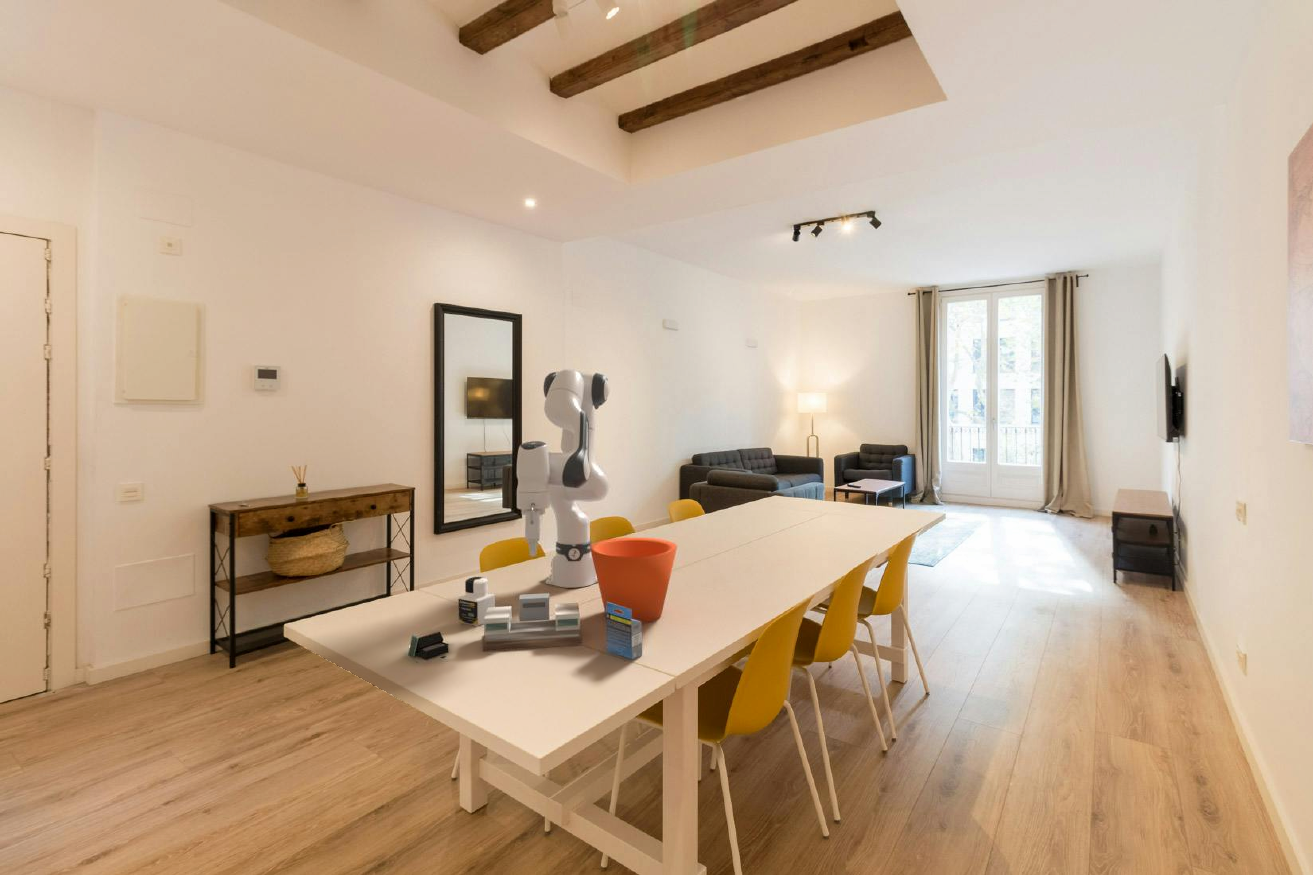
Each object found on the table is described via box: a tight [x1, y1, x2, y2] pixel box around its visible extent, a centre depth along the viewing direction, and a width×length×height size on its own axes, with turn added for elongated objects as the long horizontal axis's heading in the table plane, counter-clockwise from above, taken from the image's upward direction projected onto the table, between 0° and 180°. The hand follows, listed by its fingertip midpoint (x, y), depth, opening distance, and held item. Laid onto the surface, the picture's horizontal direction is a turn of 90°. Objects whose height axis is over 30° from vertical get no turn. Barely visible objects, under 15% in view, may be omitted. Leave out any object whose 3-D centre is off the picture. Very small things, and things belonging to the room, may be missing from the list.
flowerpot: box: [590, 536, 678, 625], centre depth 178 cm, size 25×25×20 cm
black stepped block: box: [407, 631, 449, 664], centre depth 150 cm, size 15×15×6 cm
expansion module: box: [518, 592, 550, 621], centre depth 170 cm, size 4×8×8 cm, turn 99°
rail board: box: [481, 602, 582, 652], centre depth 159 cm, size 12×24×8 cm, turn 99°
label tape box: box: [605, 602, 643, 661], centre depth 150 cm, size 9×4×12 cm, turn 49°
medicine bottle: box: [458, 576, 496, 627], centre depth 173 cm, size 7×7×12 cm
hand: (533, 551), depth 169 cm, fingers open, 8 cm apart
